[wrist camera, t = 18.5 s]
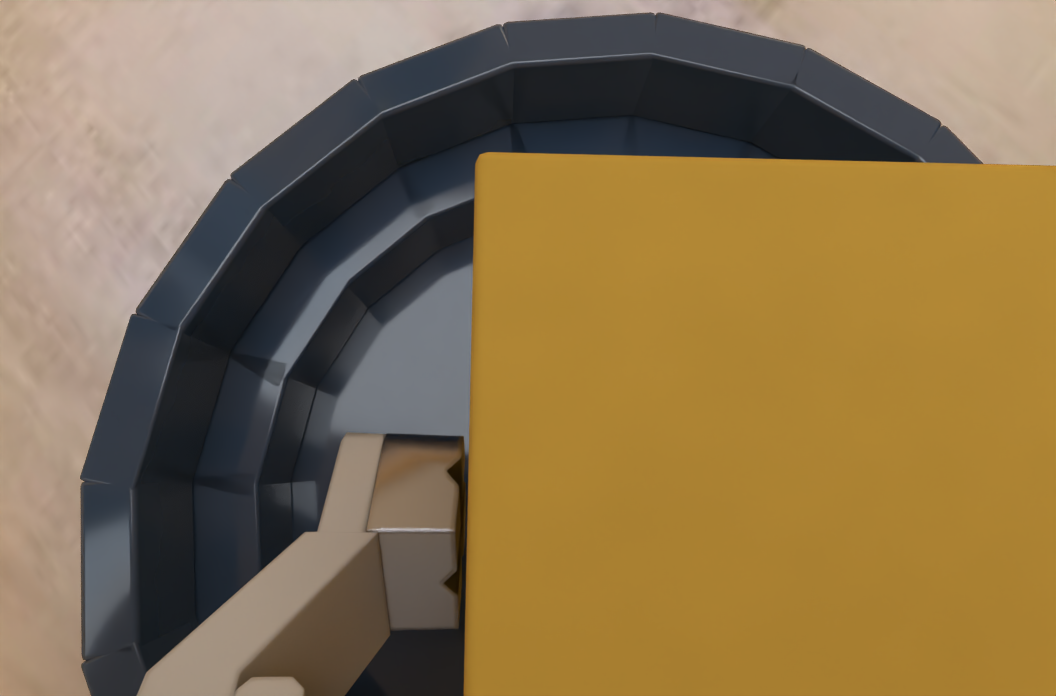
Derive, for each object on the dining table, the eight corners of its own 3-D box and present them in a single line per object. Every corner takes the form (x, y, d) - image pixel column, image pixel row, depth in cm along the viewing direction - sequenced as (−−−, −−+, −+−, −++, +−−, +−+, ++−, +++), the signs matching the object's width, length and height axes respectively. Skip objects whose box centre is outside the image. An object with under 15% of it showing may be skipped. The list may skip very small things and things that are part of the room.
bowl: (55, 642, 15) (-160, 727, 10) (467, 22, 18) (455, -154, 13) (746, 1081, 14) (874, 1400, 9) (1080, 372, 17) (1323, 332, 12)
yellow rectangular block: (485, 661, 15) (455, 1064, 5) (490, 349, 16) (475, 147, 6) (720, 662, 15) (1160, 1053, 5) (711, 353, 16) (1069, 161, 6)
